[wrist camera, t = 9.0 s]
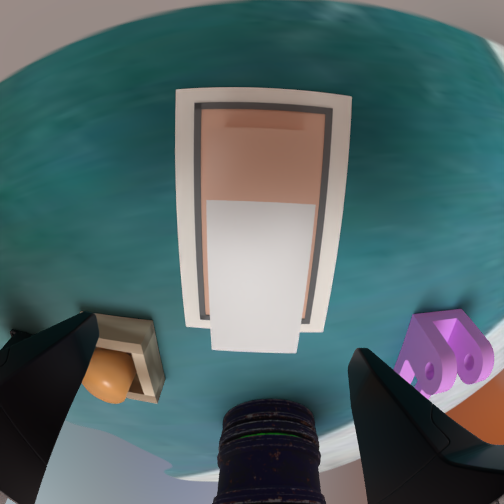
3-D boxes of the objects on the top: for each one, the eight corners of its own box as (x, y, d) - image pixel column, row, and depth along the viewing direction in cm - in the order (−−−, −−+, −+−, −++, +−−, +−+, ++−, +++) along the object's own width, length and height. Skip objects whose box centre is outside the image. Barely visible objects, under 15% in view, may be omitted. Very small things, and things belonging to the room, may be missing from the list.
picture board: (320, 324, 22) (323, 333, 21) (188, 318, 22) (185, 328, 21) (347, 98, 15) (352, 96, 14) (180, 91, 16) (175, 88, 14)
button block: (165, 379, 25) (157, 403, 22) (100, 368, 25) (89, 389, 22) (152, 320, 22) (140, 344, 19) (80, 311, 22) (64, 331, 19)
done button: (141, 382, 22) (130, 407, 20) (101, 374, 23) (89, 397, 20) (131, 348, 21) (117, 374, 18) (89, 341, 21) (73, 364, 18)
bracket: (411, 313, 22) (448, 369, 15) (460, 307, 21) (500, 356, 15) (375, 409, 27) (391, 460, 20) (418, 401, 26) (437, 447, 20)
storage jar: (321, 395, 25) (342, 540, 11) (310, 443, 29) (320, 554, 15) (216, 397, 26) (195, 542, 12) (226, 445, 29) (215, 555, 16)
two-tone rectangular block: (289, 302, 20) (296, 353, 15) (222, 300, 20) (212, 349, 15) (303, 131, 15) (321, 132, 11) (222, 128, 15) (206, 127, 11)
